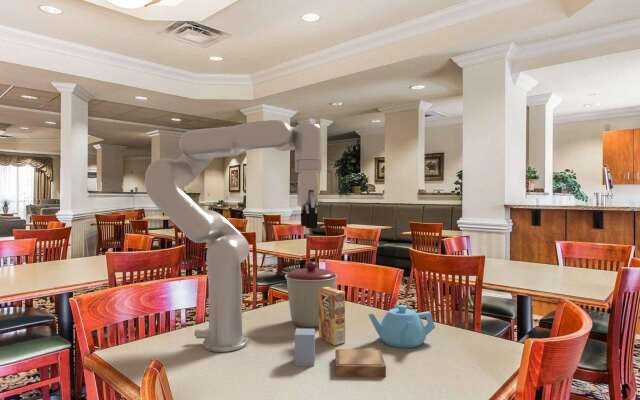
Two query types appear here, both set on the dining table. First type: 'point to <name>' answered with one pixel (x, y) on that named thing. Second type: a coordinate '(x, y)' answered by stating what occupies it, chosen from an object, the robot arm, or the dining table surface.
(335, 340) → the candy box
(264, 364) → the dining table surface
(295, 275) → the canister
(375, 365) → the plinth
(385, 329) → the teapot
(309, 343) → the block
